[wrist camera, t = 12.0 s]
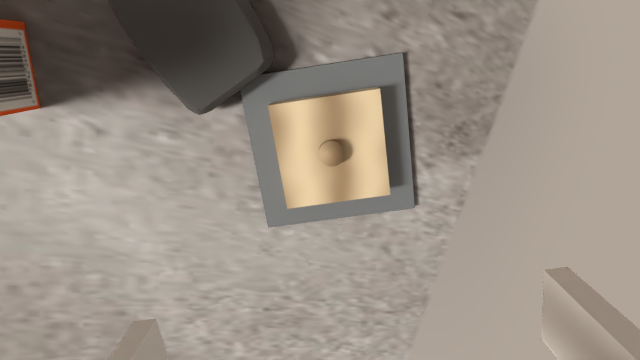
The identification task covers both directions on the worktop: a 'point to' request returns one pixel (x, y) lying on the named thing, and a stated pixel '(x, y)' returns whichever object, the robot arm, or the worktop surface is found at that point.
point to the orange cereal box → (16, 70)
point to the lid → (331, 147)
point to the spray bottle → (198, 46)
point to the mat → (320, 82)
